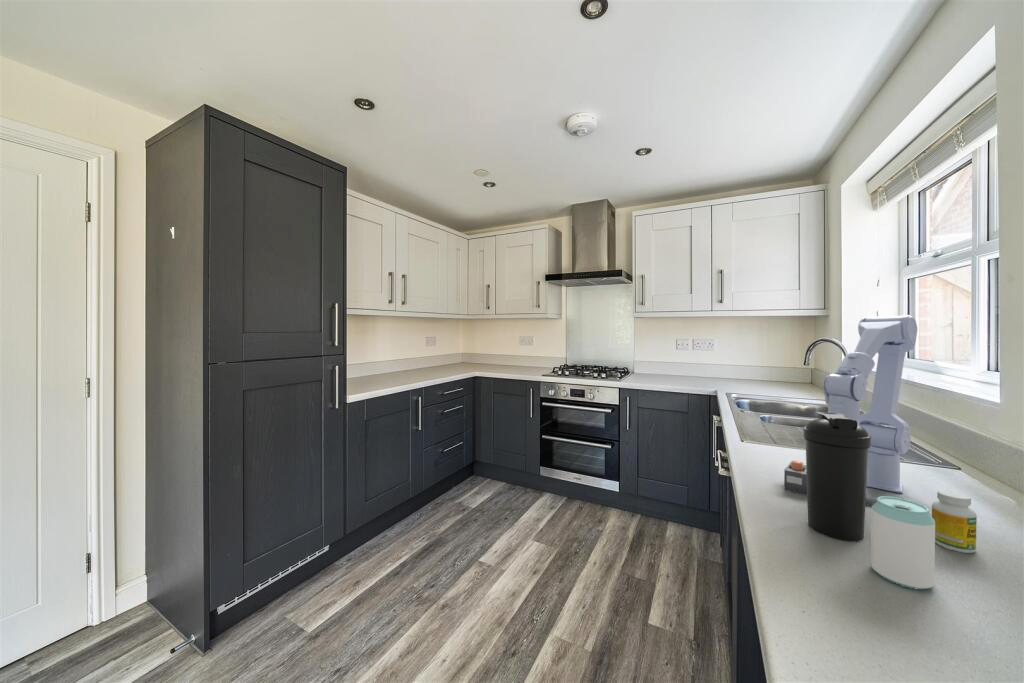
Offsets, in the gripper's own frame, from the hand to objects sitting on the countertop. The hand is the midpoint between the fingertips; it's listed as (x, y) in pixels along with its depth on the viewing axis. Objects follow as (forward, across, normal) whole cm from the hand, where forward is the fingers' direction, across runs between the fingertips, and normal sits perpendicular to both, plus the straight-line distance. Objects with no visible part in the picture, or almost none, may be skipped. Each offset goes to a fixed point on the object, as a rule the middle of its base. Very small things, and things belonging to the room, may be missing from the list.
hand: (842, 481), depth 90 cm
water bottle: (+4, -21, 0) cm, 21 cm away
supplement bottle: (+4, -13, -16) cm, 21 cm away
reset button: (+2, 0, +9) cm, 9 cm away
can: (+4, -33, -9) cm, 34 cm away
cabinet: (+4, 0, +8) cm, 9 cm away
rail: (+4, 0, -3) cm, 5 cm away
